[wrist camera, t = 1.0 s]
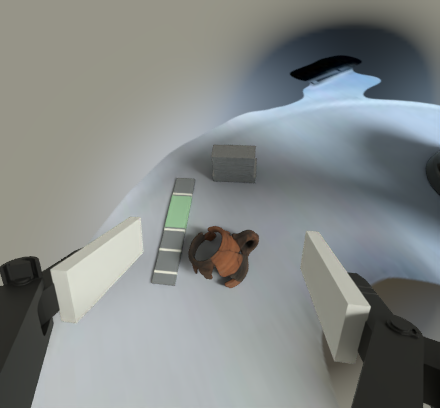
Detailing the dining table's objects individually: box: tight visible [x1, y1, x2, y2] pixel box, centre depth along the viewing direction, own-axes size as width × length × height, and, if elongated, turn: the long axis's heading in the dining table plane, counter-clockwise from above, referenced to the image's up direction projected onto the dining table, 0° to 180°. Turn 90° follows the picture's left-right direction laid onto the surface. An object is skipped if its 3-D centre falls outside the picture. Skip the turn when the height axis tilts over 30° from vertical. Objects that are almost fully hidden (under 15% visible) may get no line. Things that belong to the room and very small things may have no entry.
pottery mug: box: [188, 226, 259, 288], centre depth 38 cm, size 12×10×8 cm
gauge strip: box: [152, 178, 195, 286], centre depth 44 cm, size 22×4×1 cm, turn 174°
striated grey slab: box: [211, 145, 257, 183], centre depth 46 cm, size 5×9×8 cm, turn 84°
